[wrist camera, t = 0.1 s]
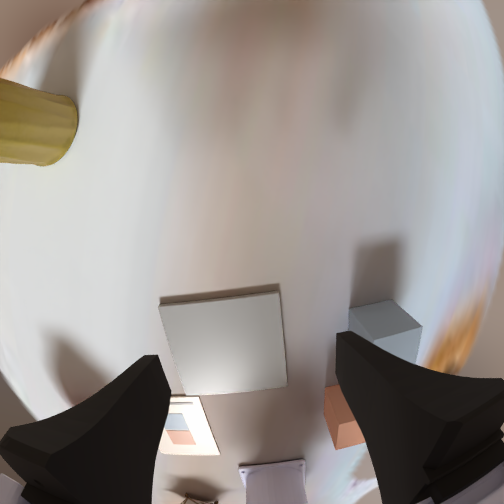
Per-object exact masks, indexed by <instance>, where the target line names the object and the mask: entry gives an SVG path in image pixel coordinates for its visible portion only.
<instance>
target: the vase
mask: <svg viewBox="0 0 504 504" xmlns="http://www.w3.org/2000/svg"><path fill="white" fill-rule="evenodd" d="M77 121H78V117H77V110H76V107H75V105H74V103H73V101H72V100H71V99H70V98H69V97H67V96H64V95H55V94H51V93H47V92H43V91H39V90H36V89H33V88H30V87H27V86H24V85H21V84H19V83H16V82H12V81H9V80H6V79H2V78H0V163H13V164H34V165H37V166H48V165H51V164H54V163H55V162H57V161H58V160H60V159H61V158H62V157H63V156H64V154H65V153H66V152H67V151H68V149H69V147H70V146H71V144H72V141H73V139H74V136H75V133H76V129H77Z"/></svg>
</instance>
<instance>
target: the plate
mask: <svg viewBox="0 0 504 504" xmlns="http://www.w3.org/2000/svg"><path fill="white" fill-rule="evenodd" d="M158 309H159V313H160V316H161V320H162V323H163V327H164V330H165V334H166V337H167V340H168V344H169V347H170V350H171V353H172V357H173V360H174V363H175V366H176V369H177V372H178V375H179V377H180V380H181V383H182V386H183V389H184V392H185V394H186V396H191V395H213V394H227V393H239V392H249V391H258V390H266V389H274V388H281V387H287V374H286V362H285V350H284V339H283V328H282V318H281V307H280V297H279V291H272V292H264V293H257V294H249V295H241V296H233V297H225V298H216V299H208V300H198V301H189V302H179V303H169V304H160V305H159V306H158Z"/></svg>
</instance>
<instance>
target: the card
mask: <svg viewBox="0 0 504 504" xmlns="http://www.w3.org/2000/svg"><path fill="white" fill-rule="evenodd" d="M158 448H159V449H160V451H161V453H162V454H177V455H220V452H219V449H218V447H217V444H216V442H215V439H214V437H213V434H212V431H211V429H210V426H209V423H208V421H207V418H206V415H205V412H204V410H203V407H202V404H201V401H200V398H199V396H171V399H170V406H169V412H168V416H167V419H166V423H165V426H164V430H163V433H162V437H161V440H160V444H159V447H158Z"/></svg>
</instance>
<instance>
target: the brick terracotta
mask: <svg viewBox="0 0 504 504" xmlns="http://www.w3.org/2000/svg"><path fill="white" fill-rule="evenodd" d="M324 416H325V419H326V422H327V425H328V429H329V432H330V435H331V438H332V441H333V444H334V447H335V450H338V449H342V448H346V447H350V446H353V445H357V444H360V443H364V442H365V439H364V436H363V434H362V432H361V430H360V428H359V426H358V424H357V422H356V420H355V418H354V416H353V414H352V412H351V410H350V408H349V406H348V404H347V402H346V400H345V397H344V395H343V393H342V391H341V388H340V385H339V384H338V385H334V386H329V387H325V399H324Z"/></svg>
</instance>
